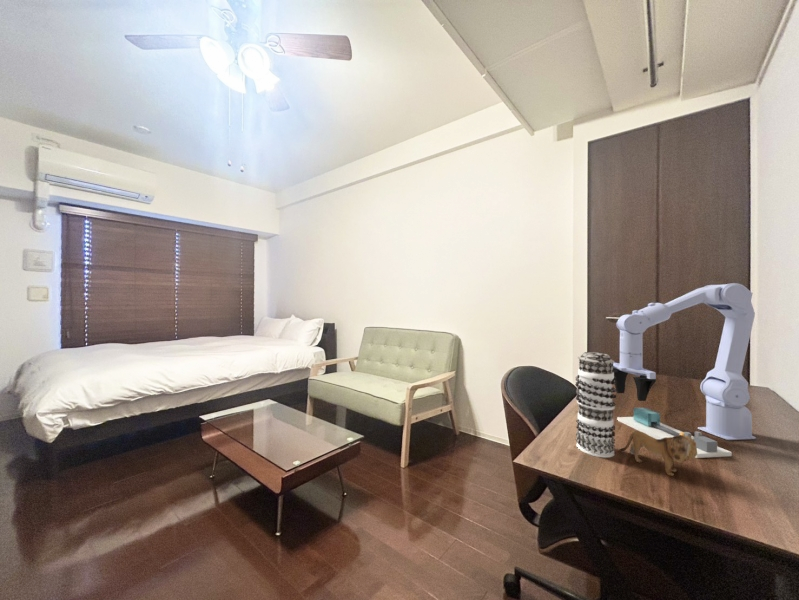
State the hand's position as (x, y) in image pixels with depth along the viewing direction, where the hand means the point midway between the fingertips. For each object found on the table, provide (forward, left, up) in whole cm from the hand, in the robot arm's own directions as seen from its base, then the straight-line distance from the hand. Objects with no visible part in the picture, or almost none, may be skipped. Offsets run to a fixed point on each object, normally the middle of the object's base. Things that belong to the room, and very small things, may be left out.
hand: (630, 396), depth 96 cm
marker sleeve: (-4, +1, -8) cm, 9 cm away
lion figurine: (+14, +22, -9) cm, 28 cm away
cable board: (-4, +8, -9) cm, 13 cm away
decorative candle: (+23, +13, -9) cm, 28 cm away
